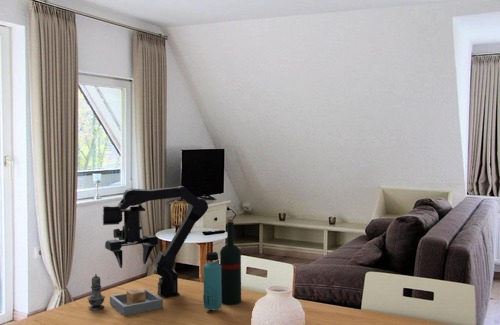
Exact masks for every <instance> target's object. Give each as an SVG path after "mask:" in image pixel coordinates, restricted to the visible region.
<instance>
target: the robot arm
mask: <svg viewBox="0 0 500 325" xmlns="http://www.w3.org/2000/svg"><path fill="white" fill-rule="evenodd" d="M175 198H181V199H183V201H185V202H186V203H187V204H188V206H187V210H186V214H185V217H184V219H183V221H182V222H181V224H180V226H179V227H178V230H176V233H175V234H174V235H173V238H172V239H171V241H170V242H169V244H168V246H167V248H166V249H165V250H164V251H163V252H162V251H160V250H159V251H158V253H157V256H156V257H155V258H154V259H153V261H154V264H153V267H154V270H155V271H156V273H157V275H158V276H160V277H158V282H157V292H156V293H157V295H158V296H161V297H162V298H170V297H176V296H180V292H179V291H178V290H179V283H178V276H179V274H178V273H177V272H176V270H175V269H174V266H175V263H176V258H177V255H178V254H179V252H180V250H181V249H182V247H183V245H184V243H185V242H186V240H187V238H188V236H189V234H190V233H191V232H192V229H193V227H194V226H195V225H196V223H197V222H198V221H199V220H200V219H201V218H202V217H204V215H205V214H206V212H207V211H208V209H209V204H208V202H207V201H206V199H204V198H201V197H199V196H196V195H195V194H193V193H192V192H191V191H190V190H188V188H187V187H185V186H183V185H179V186H173V187H171V186H170V187H163V188H153V189H142V188H128V189H126V190H124V192H123V195H122V199H121V200H120V202H119V203H118V204H117V205H112V206H111V205H110V206H109V205H104V206H102V207H103V209H102V213H103V214H102V225H103V226H112V225H120V223H122V222H123V225H122V229H120V228H115V229H113V230H112V231H113V235H112V236H113V238H114V239H110V240H106V241H105V243H104V248H105V249H106V250H107V251H110V252H112V253H113V255H114V256H115V259H116V261H117V263H118V267H119V268H121V269H122V268H123V250H122V247H128V246H134V245H141V246H142V249H143V250H142V251H143V252H142V253H143V254H142V261H143V264H144V265H146V263H147V261H148V259H149V256H150V255H151V252H152V251H153V249H154V248H156V245H159V243H160V239H159V237H158V236H157V235H154V234H148V235H143V236H142V237H141V230H142V226H141V212H145V211H146V208H145V207H144V206H143V205H142V204H144V203H147V202H150V201H156V200H157V201H159V200H165V199H168V200H169V199H175Z"/></svg>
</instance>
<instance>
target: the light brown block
mask: <svg viewBox="0 0 500 325" xmlns="http://www.w3.org/2000/svg"><path fill="white" fill-rule="evenodd" d="M144 290H145V289H142V288H133V289H128V290H126V293H127V305H131V304H137V303H142V302H146V292H145V291H144Z"/></svg>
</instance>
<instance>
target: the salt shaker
mask: <svg viewBox="0 0 500 325" xmlns="http://www.w3.org/2000/svg"><path fill="white" fill-rule="evenodd" d="M102 287H103V286H102V285H101V277H100V276H98V274H97V273H95V274H94V276H93V277H92V278H91V286H90V289H91V294H90V296H88V297H87V301H88V303H89V305H90V306H89V307H88V310H90V311H101V310H103V309H105V306H104V305H103V303H104V301H105V298H106V296H105V295H103V294H102V292H101V290H102V289H101V288H102Z"/></svg>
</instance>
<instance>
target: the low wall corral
mask: <svg viewBox="0 0 500 325" xmlns="http://www.w3.org/2000/svg"><path fill="white" fill-rule="evenodd" d="M143 290H144V291H145V292H146V302H142V303H137V304H131V305H127V292H125V293H120V294H114V295H109V304H110V306H111V307H112V308H114V309H115V310H116V311H117V312H119V313H120V314H121V315H122V316H124V317H125V316H129V315H135V314H139V313H145V312H149V311H154V310H160V309H163V308H164V302H163V301H164V300H163V298H161V297H159V295H158V294H155V293H153V292H152V291H150V290H149V289H143Z"/></svg>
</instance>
